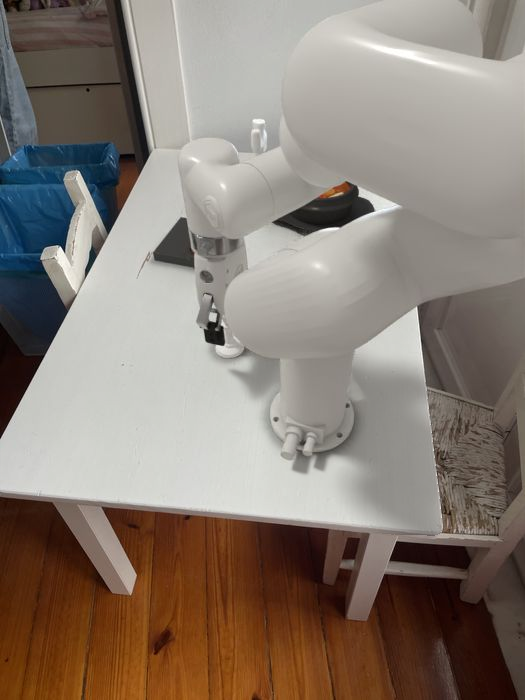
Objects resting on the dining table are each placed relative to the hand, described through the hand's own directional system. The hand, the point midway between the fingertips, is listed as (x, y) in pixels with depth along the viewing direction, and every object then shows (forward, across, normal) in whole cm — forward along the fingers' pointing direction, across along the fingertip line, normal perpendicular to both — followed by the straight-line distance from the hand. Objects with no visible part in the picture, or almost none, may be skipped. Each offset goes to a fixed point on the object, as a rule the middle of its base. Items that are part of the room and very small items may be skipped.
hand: (226, 322), depth 80 cm
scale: (+6, +26, +18) cm, 32 cm away
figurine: (+6, +57, +13) cm, 59 cm away
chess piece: (+6, 0, 0) cm, 6 cm away
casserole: (+6, +45, -5) cm, 46 cm away
